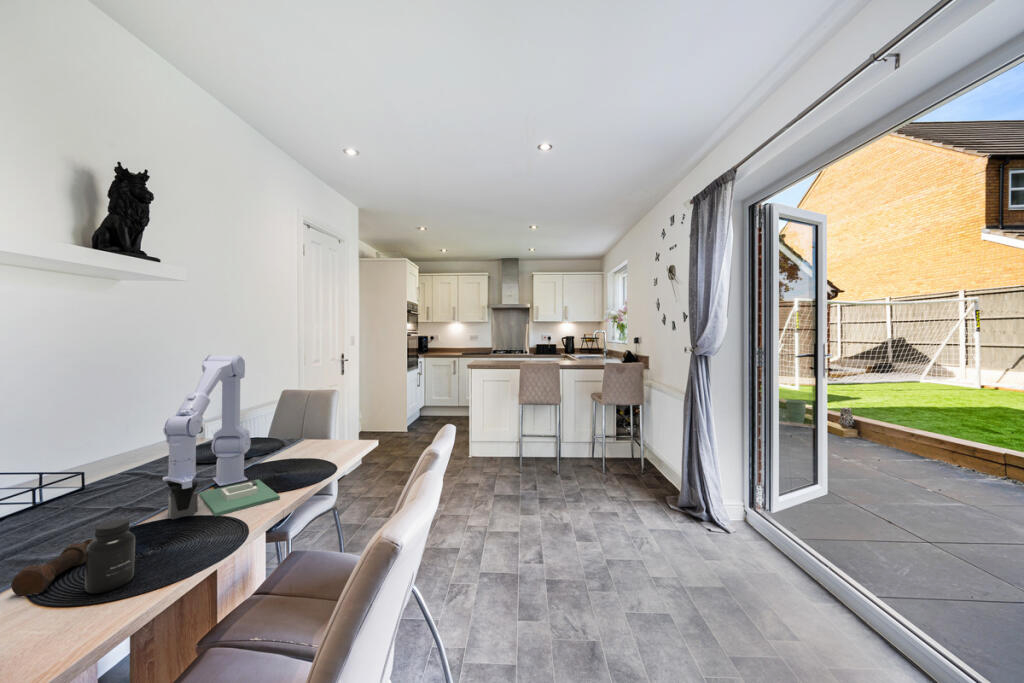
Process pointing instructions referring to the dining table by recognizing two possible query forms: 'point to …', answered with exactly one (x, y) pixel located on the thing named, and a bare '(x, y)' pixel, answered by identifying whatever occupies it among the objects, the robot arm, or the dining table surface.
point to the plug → (174, 512)
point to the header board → (238, 497)
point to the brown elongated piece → (48, 570)
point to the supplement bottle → (110, 557)
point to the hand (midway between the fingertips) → (181, 507)
